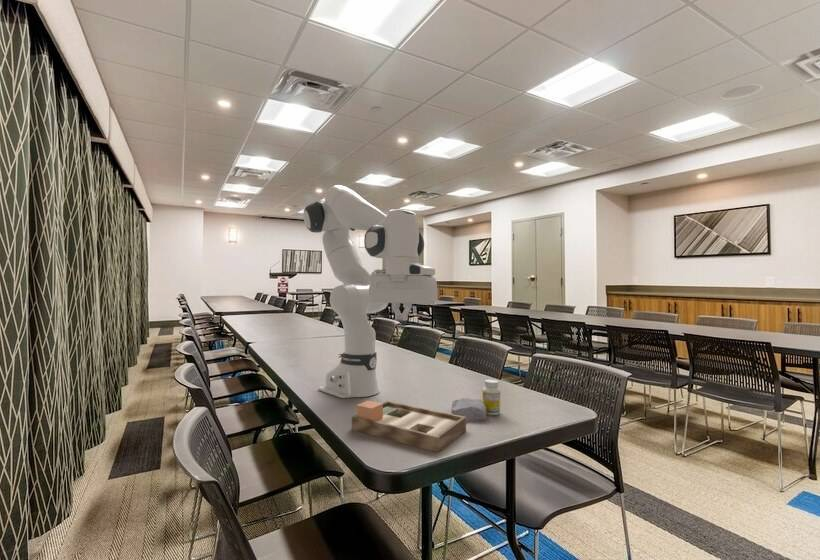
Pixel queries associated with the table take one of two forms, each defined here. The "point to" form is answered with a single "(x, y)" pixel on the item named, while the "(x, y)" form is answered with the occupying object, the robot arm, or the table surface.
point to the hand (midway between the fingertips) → (401, 320)
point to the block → (370, 410)
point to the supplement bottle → (491, 397)
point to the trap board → (413, 426)
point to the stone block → (469, 409)
